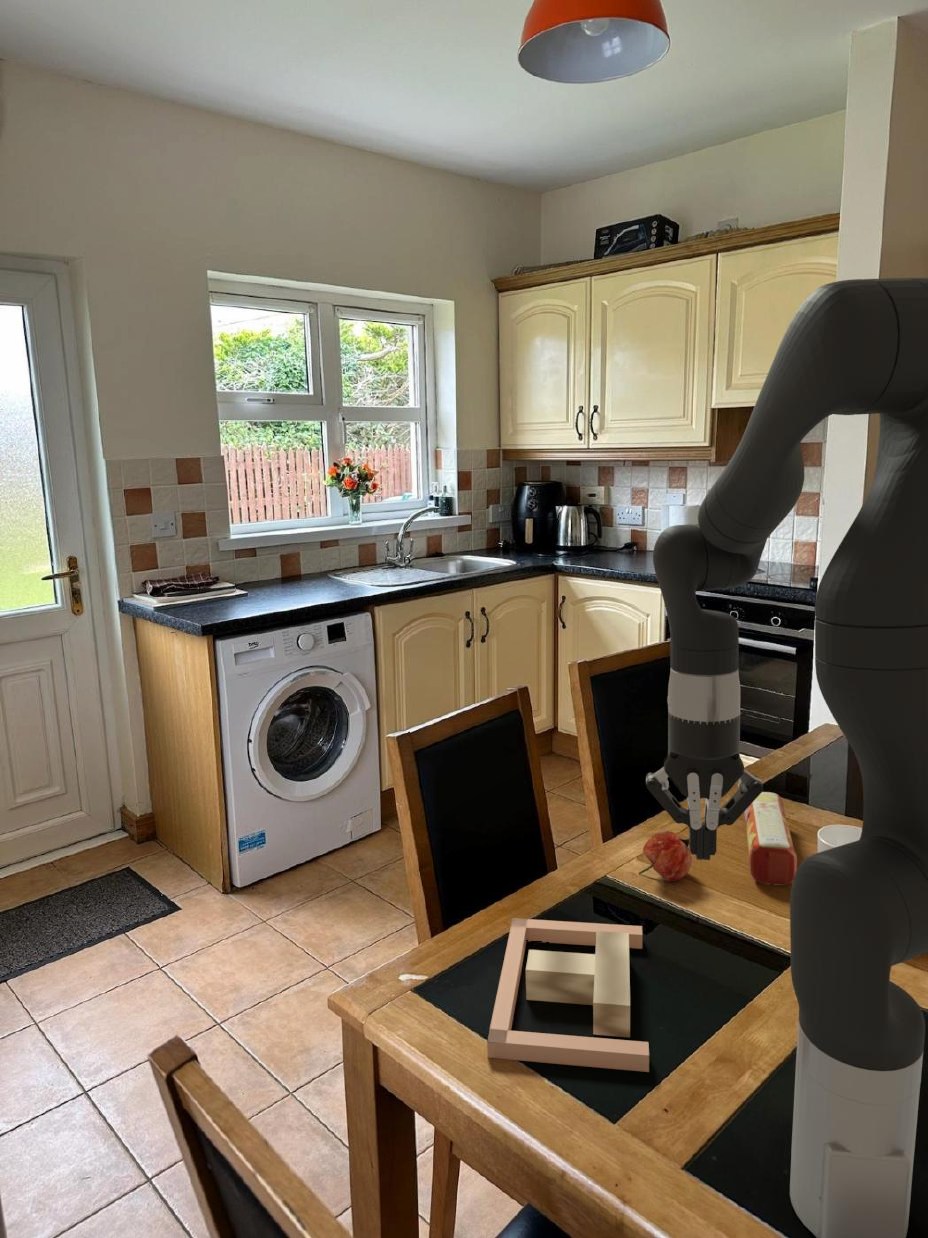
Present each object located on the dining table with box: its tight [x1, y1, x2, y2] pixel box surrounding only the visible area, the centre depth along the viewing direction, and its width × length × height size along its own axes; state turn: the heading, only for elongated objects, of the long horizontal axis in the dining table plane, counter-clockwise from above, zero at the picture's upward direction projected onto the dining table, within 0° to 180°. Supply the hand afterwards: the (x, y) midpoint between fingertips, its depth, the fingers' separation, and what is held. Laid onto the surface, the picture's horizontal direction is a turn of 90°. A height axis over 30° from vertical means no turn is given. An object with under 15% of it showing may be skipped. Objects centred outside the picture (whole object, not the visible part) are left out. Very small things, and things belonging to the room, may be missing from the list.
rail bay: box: [486, 917, 650, 1073], centre depth 102 cm, size 24×17×2 cm
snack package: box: [743, 791, 798, 886], centre depth 133 cm, size 21×7×7 cm, turn 164°
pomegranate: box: [638, 830, 693, 883], centre depth 127 cm, size 7×7×10 cm
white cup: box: [816, 824, 862, 853], centre depth 118 cm, size 8×8×10 cm
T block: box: [525, 931, 631, 1038], centre depth 102 cm, size 12×14×4 cm
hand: (702, 856), depth 96 cm, fingers closed
